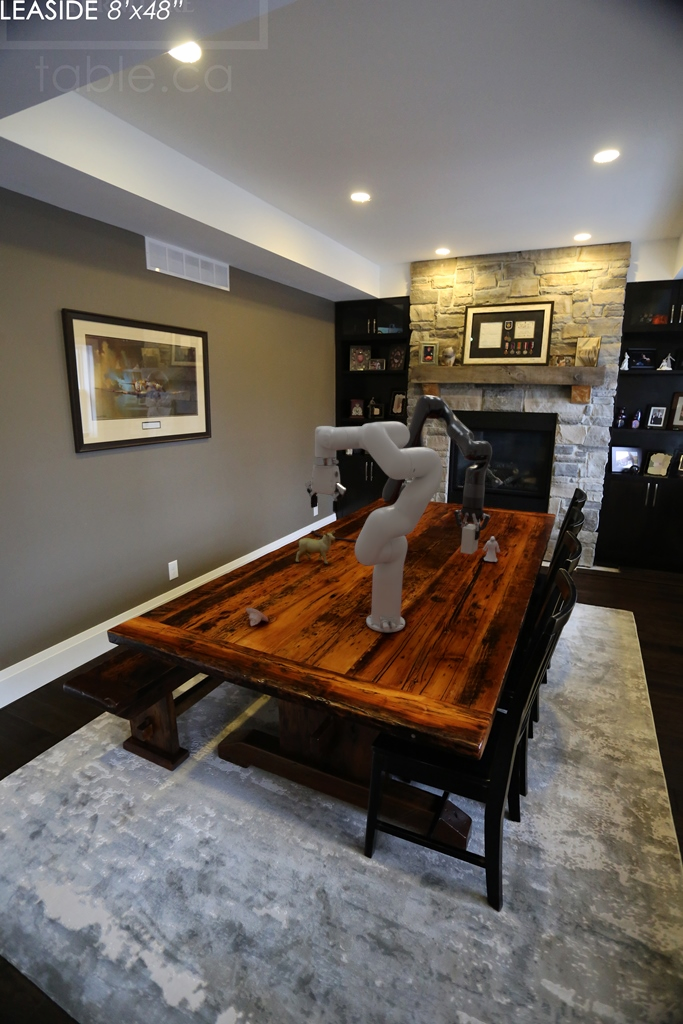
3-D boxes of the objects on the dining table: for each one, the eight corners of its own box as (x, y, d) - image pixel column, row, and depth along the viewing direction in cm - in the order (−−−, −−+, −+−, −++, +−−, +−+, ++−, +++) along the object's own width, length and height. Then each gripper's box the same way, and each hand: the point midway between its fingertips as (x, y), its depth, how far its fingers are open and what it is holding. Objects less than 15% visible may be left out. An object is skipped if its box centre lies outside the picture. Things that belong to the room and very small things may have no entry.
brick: (477, 549, 194) (479, 525, 191) (471, 554, 188) (473, 529, 186) (466, 547, 196) (468, 523, 194) (460, 552, 190) (462, 527, 188)
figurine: (481, 562, 222) (483, 536, 219) (482, 556, 230) (484, 531, 227) (499, 564, 220) (501, 538, 217) (499, 558, 228) (501, 533, 225)
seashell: (251, 634, 162) (235, 615, 161) (262, 623, 165) (246, 604, 164) (262, 630, 156) (245, 610, 155) (273, 618, 159) (257, 599, 158)
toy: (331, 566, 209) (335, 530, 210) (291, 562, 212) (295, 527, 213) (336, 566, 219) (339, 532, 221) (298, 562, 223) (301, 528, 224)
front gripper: (351, 463, 174) (350, 510, 178) (312, 458, 183) (312, 503, 187) (339, 465, 168) (338, 515, 172) (299, 460, 177) (299, 507, 181)
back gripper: (495, 495, 186) (491, 539, 190) (459, 490, 194) (455, 533, 198) (489, 499, 180) (485, 544, 184) (451, 493, 187) (448, 537, 192)
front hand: (324, 509), depth 180 cm, fingers open, 9 cm apart
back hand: (470, 538), depth 191 cm, fingers closed on brick, 4 cm apart
